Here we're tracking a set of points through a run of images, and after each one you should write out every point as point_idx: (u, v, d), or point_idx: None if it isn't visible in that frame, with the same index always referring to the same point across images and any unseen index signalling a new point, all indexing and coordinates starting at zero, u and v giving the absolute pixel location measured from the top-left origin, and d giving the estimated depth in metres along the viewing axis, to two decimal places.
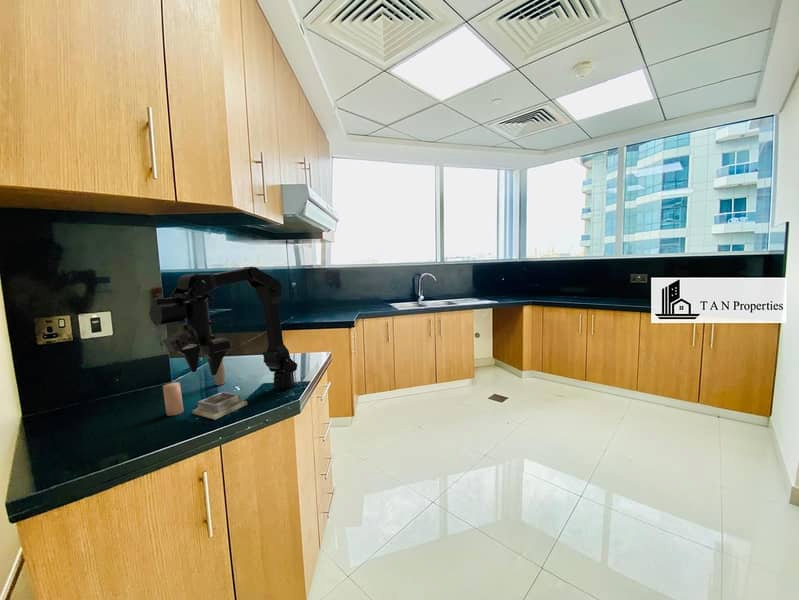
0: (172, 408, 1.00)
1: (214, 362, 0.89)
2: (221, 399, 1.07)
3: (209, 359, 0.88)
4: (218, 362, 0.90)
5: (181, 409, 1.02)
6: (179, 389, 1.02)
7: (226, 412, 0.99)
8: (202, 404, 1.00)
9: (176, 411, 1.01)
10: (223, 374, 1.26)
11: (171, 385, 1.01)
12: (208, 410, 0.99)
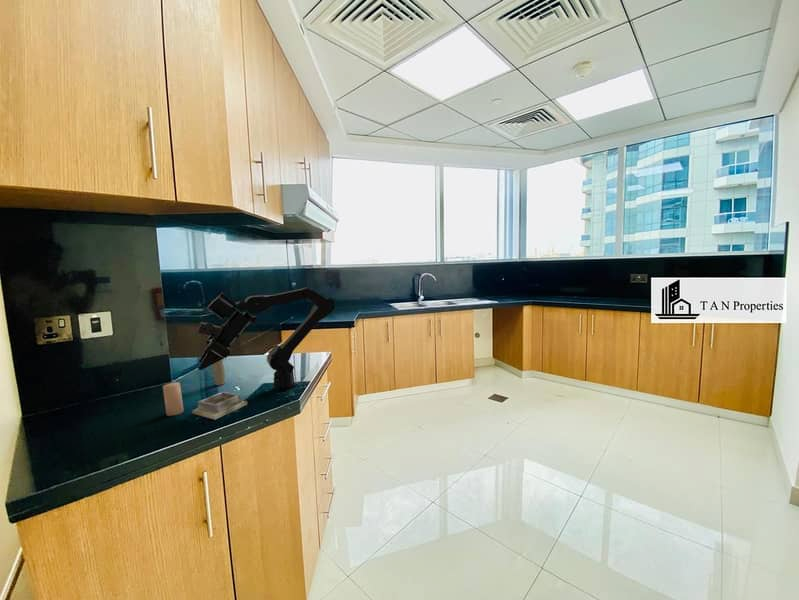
0: (172, 408, 1.00)
1: (207, 359, 1.01)
2: (221, 399, 1.07)
3: (206, 354, 1.00)
4: (210, 363, 1.01)
5: (181, 409, 1.02)
6: (179, 389, 1.02)
7: (226, 412, 0.99)
8: (202, 404, 1.00)
9: (176, 411, 1.01)
10: (223, 374, 1.26)
11: (171, 385, 1.01)
12: (208, 410, 0.99)
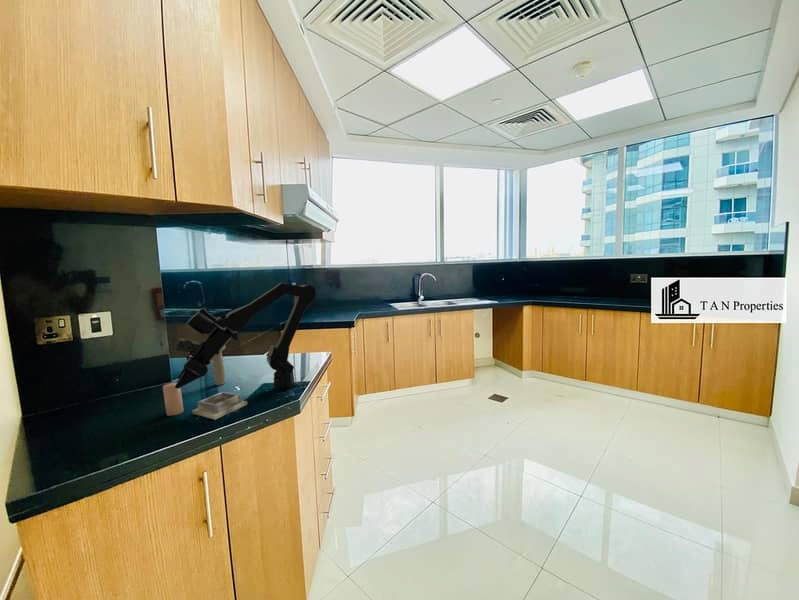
0: (172, 408, 1.00)
1: (184, 377, 0.98)
2: (221, 399, 1.07)
3: (184, 372, 0.98)
4: (187, 381, 0.98)
5: (181, 409, 1.02)
6: (179, 389, 1.02)
7: (226, 412, 0.99)
8: (202, 404, 1.00)
9: (176, 411, 1.01)
10: (223, 374, 1.26)
11: (170, 385, 1.01)
12: (208, 410, 0.99)
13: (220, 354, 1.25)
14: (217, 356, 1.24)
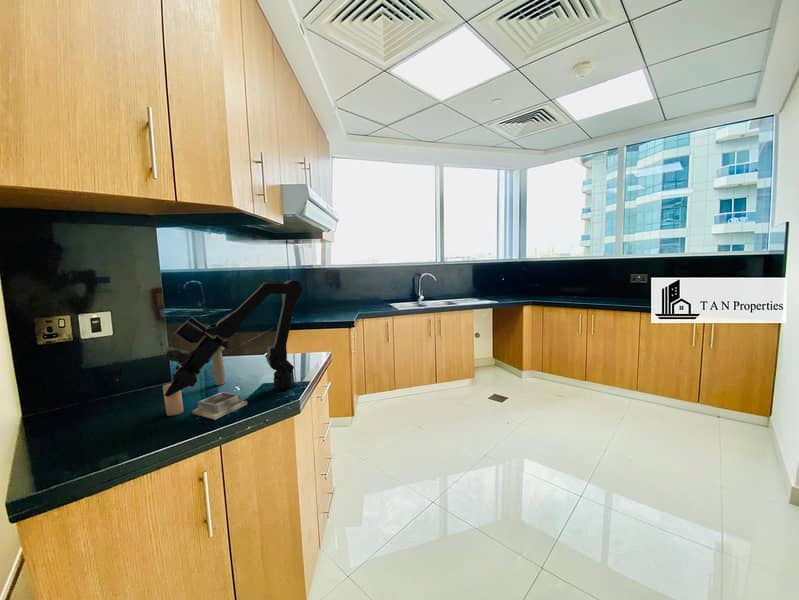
0: (172, 408, 1.00)
1: (174, 386, 0.99)
2: (221, 399, 1.07)
3: (173, 380, 0.99)
4: (177, 389, 0.99)
5: (181, 409, 1.02)
6: None
7: (226, 412, 0.99)
8: (202, 404, 1.00)
9: (176, 411, 1.01)
10: (223, 374, 1.26)
11: None
12: (208, 410, 0.99)
13: (220, 354, 1.25)
14: (217, 356, 1.24)
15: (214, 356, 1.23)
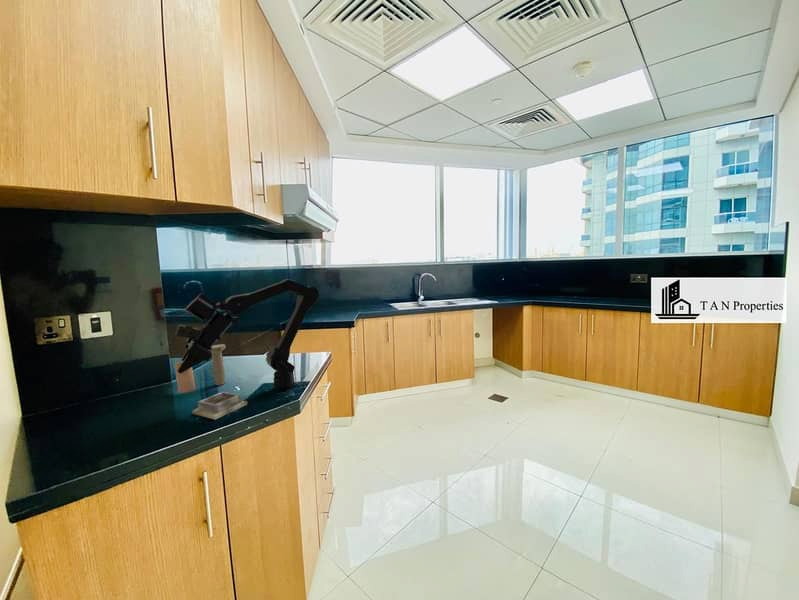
0: (184, 385, 0.99)
1: (187, 362, 0.98)
2: (221, 399, 1.07)
3: (186, 356, 0.98)
4: (190, 365, 0.98)
5: (193, 386, 1.01)
6: None
7: (226, 412, 0.99)
8: (202, 404, 1.00)
9: (189, 388, 1.00)
10: (223, 374, 1.26)
11: (182, 362, 1.00)
12: (208, 410, 0.99)
13: (220, 354, 1.25)
14: (217, 356, 1.24)
15: (214, 356, 1.23)
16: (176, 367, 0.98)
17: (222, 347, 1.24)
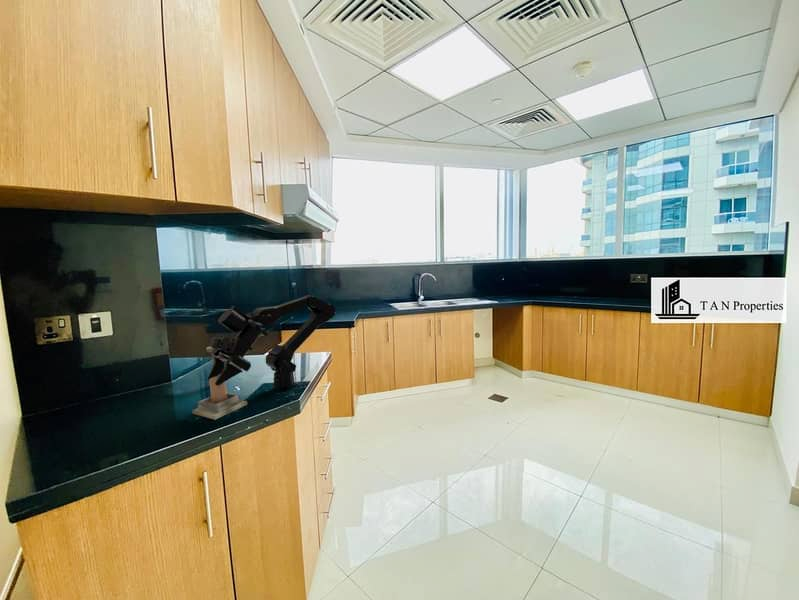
0: (220, 401, 1.01)
1: (225, 374, 0.99)
2: None
3: (224, 368, 0.99)
4: (227, 377, 1.00)
5: None
6: (225, 382, 1.03)
7: (226, 412, 0.99)
8: (202, 404, 1.00)
9: None
10: None
11: (217, 378, 1.01)
12: (208, 410, 0.99)
13: None
14: None
15: None
16: (212, 384, 1.00)
17: None
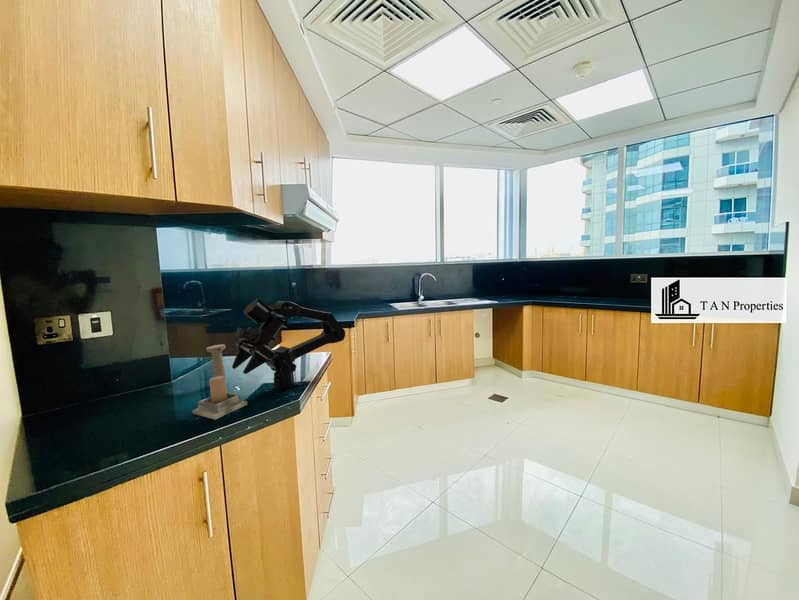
0: (220, 401, 1.01)
1: (252, 363, 1.04)
2: None
3: (252, 358, 1.04)
4: (254, 366, 1.05)
5: None
6: (225, 382, 1.03)
7: (226, 412, 0.99)
8: (202, 404, 1.00)
9: None
10: (223, 374, 1.26)
11: (217, 378, 1.01)
12: (208, 410, 0.99)
13: (220, 354, 1.25)
14: (217, 356, 1.24)
15: (214, 356, 1.23)
16: (212, 383, 1.00)
17: (222, 347, 1.24)
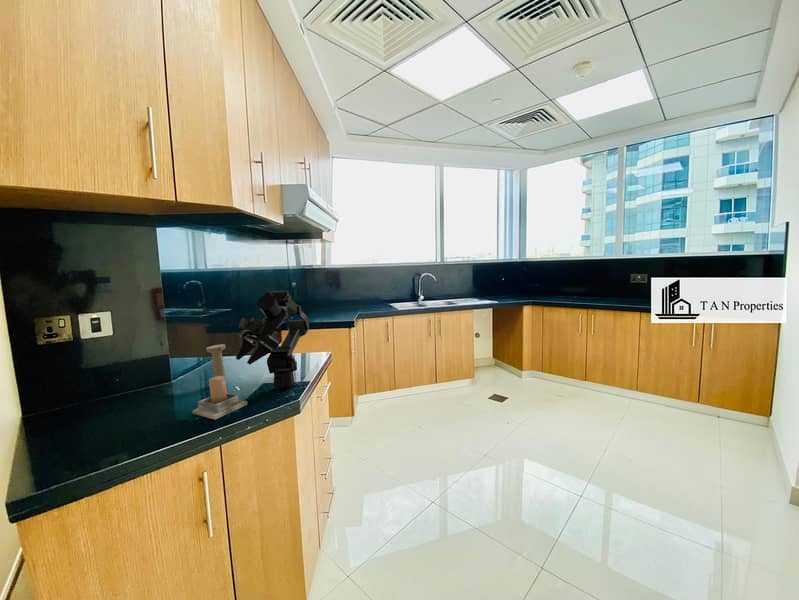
0: (220, 401, 1.01)
1: (256, 353, 1.04)
2: None
3: (256, 348, 1.04)
4: (258, 356, 1.04)
5: None
6: None
7: (226, 412, 0.99)
8: (202, 404, 1.00)
9: None
10: (223, 374, 1.26)
11: (217, 378, 1.01)
12: (208, 410, 0.99)
13: (220, 354, 1.25)
14: (217, 356, 1.24)
15: (214, 356, 1.23)
16: (212, 383, 1.00)
17: (222, 347, 1.24)
